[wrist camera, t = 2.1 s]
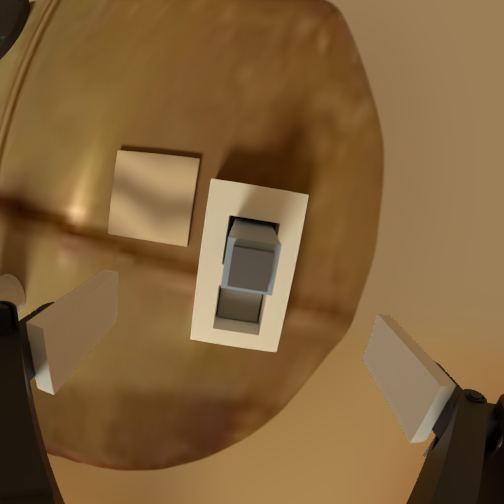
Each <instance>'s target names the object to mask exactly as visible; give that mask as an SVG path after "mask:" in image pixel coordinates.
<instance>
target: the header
mask: <svg viewBox="0 0 504 504" xmlns="http://www.w3.org/2000/svg"><path fill="white" fill-rule="evenodd" d="M308 197H309V195H307V194H302V193H297V192H291V191H286V190H280V189H274V188H269V187H263V186H257V185H251V184H245V183H238V182H232V181H226V180H219V179H211V183H210V189H209V196H208V202H207V209H206V216H205V223H204V230H203V237H202V244H201V252H200V259H199V267H198V275H197V283H196V292H195V300H194V309H193V319H192V328H191V338H190V339H193V340H198V341H204V342H210V343H216V344H222V345H228V346H235V347H241V348H248V349H256V350H263V351H271V352H277V347H278V343H279V339H280V334H281V330H282V326H283V321H284V317H285V312H286V307H287V303H288V298H289V294H290V289H291V284H292V279H293V275H294V270H295V265H296V260H297V255H298V250H299V245H300V240H301V234H302V229H303V224H304V219H305V213H306V208H307V202H308ZM231 216H238V217H244V218H250V219H256V220H262V221H268V222H274V223H276V229H275V233H276V235H277V237H278V239H279V241H280V243H281V245H282V246H281V251H280V256H279V262H278V267H277V272H276V277H275V282H274V288H273V293H272V296H270V295H263V299H262V304H261V310H260V315H259V320H258V322H257V319H258V314H259V308H260V303H261V298H262V294H257V293H250V292H244V291H238V290H231V289H225V288H221V294H220V301H219V308H218V316H216V312H217V305H218V298H219V291H220V285H221V281H222V274H223V267H224V261H225V250H226V243H227V237H228V230H229V224H230V218H231Z"/></svg>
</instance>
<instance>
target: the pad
mask: <svg viewBox="0 0 504 504" xmlns="http://www.w3.org/2000/svg"><path fill="white" fill-rule="evenodd" d="M199 165H200V159H198V158H190V157H182V156H173V155H164V154H155V153H144V152H133V151H121V150H118V152H117V158H116V165H115V172H114V179H113V187H112V196H111V205H110V216H109V228H108V234H113V235H119V236H125V237H131V238H137V239H143V240H149V241H155V242H162V243H168V244H174V245H180V246H186V247H187V246H188V240H189V232H190V225H191V217H192V210H193V203H194V197H195V190H196V183H197V177H198V171H199Z"/></svg>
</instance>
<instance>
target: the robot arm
mask: <svg viewBox="0 0 504 504" xmlns="http://www.w3.org/2000/svg"><path fill="white" fill-rule="evenodd" d="M28 12H29V0H0V59H1V58H2V57H3V56H4V55H5V54H6V52H7V51H8V50H9V49H10V47H11V46H12V45H13V43H14V42H15V40H16V39H17V37H18V36H19V34H20V32H21V30H22V28H23V26H24V24H25V22H26V19H27V16H28ZM117 292H118V272H115V271H110V270H103V271H102V272H100V273H98V274H97V275H95V276H94V277H92V278H91V279H89V280H88V281H86V282H85V283H83V284H82V285H80V286H78V287H77V288H75V289H74V290H72V291H71V292H69V293H68V294H66V295H65V296H63V297H62V298H61V299H59V300H58V301H56V302H51V303H47V304H44V305H42V306H41V307H39V308H38V309H36V311H33V312H32V313H31V314H29V315H27V316H26V317H24V318H23V319H21V320H20V321H18V313H17V307H16V305H15V304H14V303H12V302H9V301H0V504H65V503H64V501H63V498H62V496H61V493H60V491H59V488H58V486H57V483H56V480H55V477H54V474H53V471H52V468H51V465H50V462H49V459H48V456H47V452H46V449H45V446H44V442H43V438H42V435H41V431H40V427H39V423H38V419H37V414H36V410H35V405H34V401H33V395H32V390H31V386H30V380H31V379H32V378H33V377H34V376H35V378H36V383H37V387H38V389H41V390H43V391H45V392H48V393H50V394H53V395H55V393H56V392H57V391H58V390H59V389H60V387H61V386H62V385H63V384H64V383H65V381H66V380H67V379H68V378H69V377H70V375H71V374H72V373H73V372H74V371H75V370H76V368H77V367H78V366H79V365H80V364H81V363H82V361H83V360H84V359H85V358H86V357H87V356H88V354H89V353H90V352H91V351H92V350H93V349H94V348H95V346H96V345H97V344H98V343H99V342H100V341H101V340H102V338H103V337H104V336H105V335H106V334H107V333H108V332H109V331H110V329H111V328H112V327H113V326H114V325H115V324H116V323H117ZM363 362H364V364H365V365H366V367H367V369H368V371H369V372H370V374H371V376H372V377H373V379H374V381H375V382H376V384H377V386H378V388H379V390H380V391H381V393H382V395H383V396H384V398H385V400H386V402H387V403H388V405H389V407H390V409H391V410H392V412H393V414H394V416H395V417H396V419H397V421H398V423H399V425H400V427H401V428H402V430H403V432H404V434H405V435H406V437H407V439H408V441H409V443H415V442H423V441H425V440H426V439H427V437H428V435H429V434H430V432H431V431H432V430H433V432H434V433H435V435H436V436H435V438H434V439H433V441H432V443H431V444H430V446H429V447H428V449H427V450H426V452H425V453H424V455H423V456H426V455H427V456H426V459H425V462H424V464H423V467H422V469H421V472H420V474H419V477H418V479H417V482H416V484H415V486H414V488H413V491H412V493H411V495H410V497H409V499H408V501H407V503H406V504H504V394H503V395H501V396H500V398H499V400H498V402H497V403H496V404H491V403H487V400H486V398H485V397H484V396H483V395H482V394H481V393H479V392H477V391H475V390H471V389H464V390H462V388H461V387H460V386H459V385H458V384H457V383H456V382H455V381H454V380H453V378H452V377H450V376H449V374H448V373H447V372H445V370H444V369H443V368H442V367H441V366H440V365H439V364H438V363H436V362H435V361H433V359H432V358H431V357H430V356H429V355H428V354H427V353H426V352H425V351H424V350H423V349H422V348H421V347H420V346H419V345H418V344H417V343H416V341H414V340H413V339H412V337H411V336H410V335H409V334H408V333H407V332H406V331H405V330H404V329H403V328H402V327H401V326H400V325H399V324H398V323H397V322H396V321H395V320H394V319H393V318H392V317H391V316H390V315H382V314H378V315H377V318H376V321H375V324H374V328H373V331H372V334H371V337H370V340H369V343H368V345H367V348H366V352H365V354H364V357H363ZM501 443H502V444H501ZM500 444H501V446H500ZM499 446H500V448H499Z"/></svg>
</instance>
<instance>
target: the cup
mask: <svg viewBox="0 0 504 504" xmlns="http://www.w3.org/2000/svg"><path fill="white" fill-rule="evenodd" d="M0 301H9V302H12V303H14V304H15V305H16V307H17V313H19V312H21V311H22V310H23V309H24V307H25V293H24V290H23V287H22V285H21V283H20V282H19V280H18V279H17V278H16V277H15V276H13V275H11V274H4V275H2V276H0Z"/></svg>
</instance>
